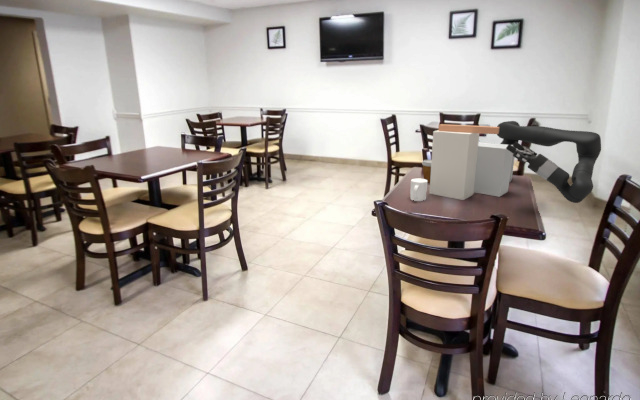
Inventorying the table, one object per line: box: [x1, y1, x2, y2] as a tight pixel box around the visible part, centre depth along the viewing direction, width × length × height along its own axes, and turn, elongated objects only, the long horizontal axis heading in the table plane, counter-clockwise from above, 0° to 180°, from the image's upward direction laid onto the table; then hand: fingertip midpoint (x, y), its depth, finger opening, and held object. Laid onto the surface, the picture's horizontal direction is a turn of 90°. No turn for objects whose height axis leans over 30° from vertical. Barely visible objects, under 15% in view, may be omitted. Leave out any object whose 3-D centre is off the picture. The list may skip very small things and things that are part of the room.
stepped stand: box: [429, 129, 514, 201], centre depth 193 cm, size 28×30×32 cm
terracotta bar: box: [438, 123, 499, 135], centre depth 182 cm, size 3×27×3 cm, turn 55°
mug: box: [409, 177, 428, 202], centre depth 188 cm, size 12×9×8 cm
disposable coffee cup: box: [421, 159, 432, 184], centre depth 218 cm, size 10×10×12 cm
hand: (510, 144), depth 171 cm, fingers open, 8 cm apart
